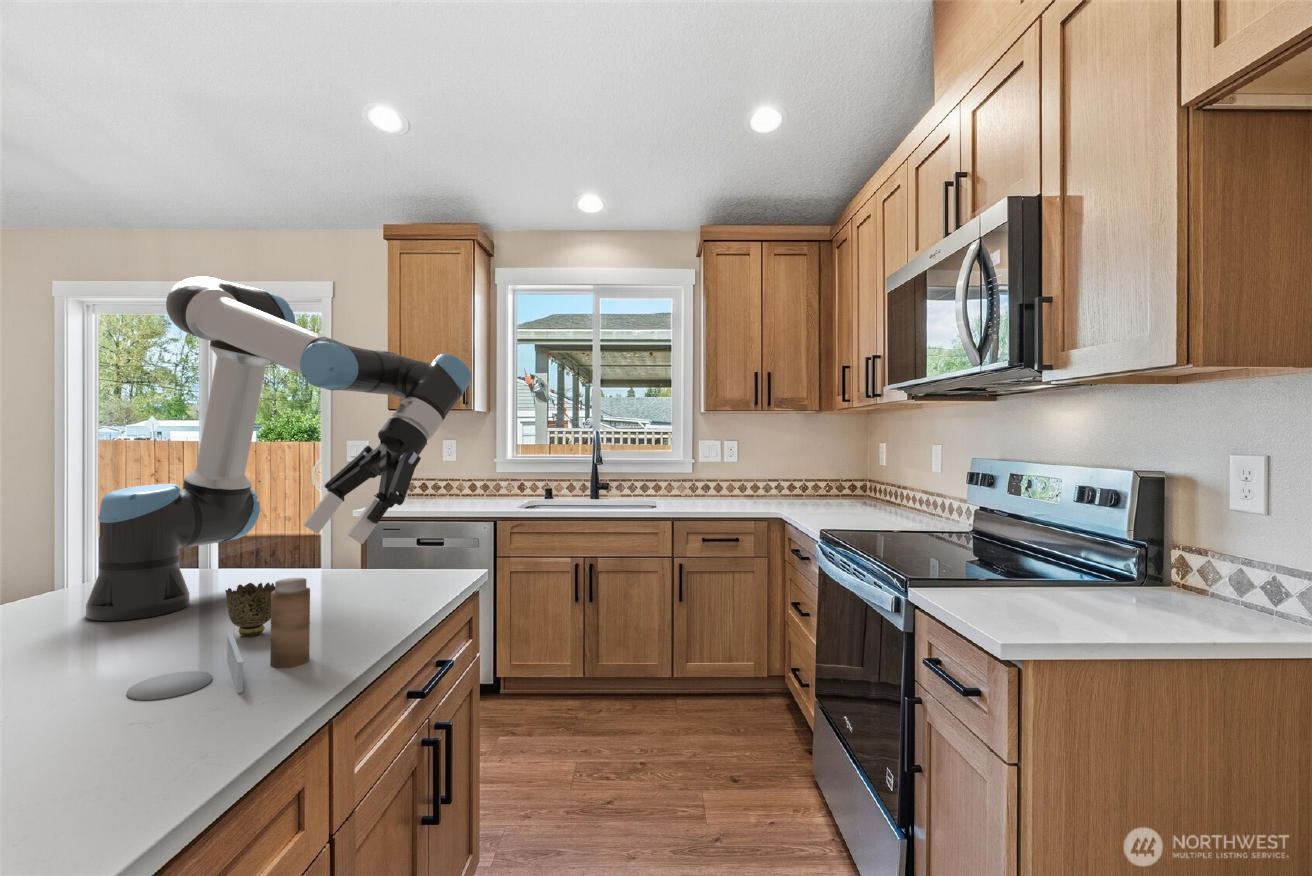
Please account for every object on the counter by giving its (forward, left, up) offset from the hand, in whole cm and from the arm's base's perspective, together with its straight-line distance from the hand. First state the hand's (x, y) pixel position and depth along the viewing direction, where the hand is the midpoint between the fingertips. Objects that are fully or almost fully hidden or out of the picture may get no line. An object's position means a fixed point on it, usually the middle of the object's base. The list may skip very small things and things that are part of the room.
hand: (331, 534), depth 98 cm
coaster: (+3, -20, -18) cm, 27 cm away
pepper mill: (+2, -6, -18) cm, 19 cm away
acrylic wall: (+4, -13, -18) cm, 23 cm away
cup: (-16, -9, -18) cm, 26 cm away
